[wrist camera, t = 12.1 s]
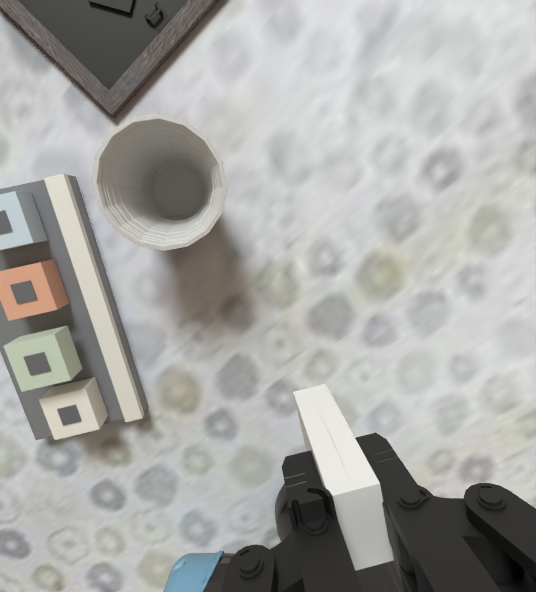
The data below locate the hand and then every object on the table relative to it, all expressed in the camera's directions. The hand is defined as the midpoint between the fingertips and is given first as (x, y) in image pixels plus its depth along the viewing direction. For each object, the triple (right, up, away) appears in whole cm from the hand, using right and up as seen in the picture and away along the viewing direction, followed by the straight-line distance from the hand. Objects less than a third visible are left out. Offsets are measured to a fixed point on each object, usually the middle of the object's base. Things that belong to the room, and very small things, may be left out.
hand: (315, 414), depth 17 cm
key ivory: (-24, -7, +27) cm, 37 cm away
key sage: (-25, -1, +24) cm, 35 cm away
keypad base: (-26, +4, +27) cm, 38 cm away
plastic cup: (-12, +17, +26) cm, 33 cm away
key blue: (-28, +13, +22) cm, 39 cm away
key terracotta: (-27, +6, +24) cm, 37 cm away
